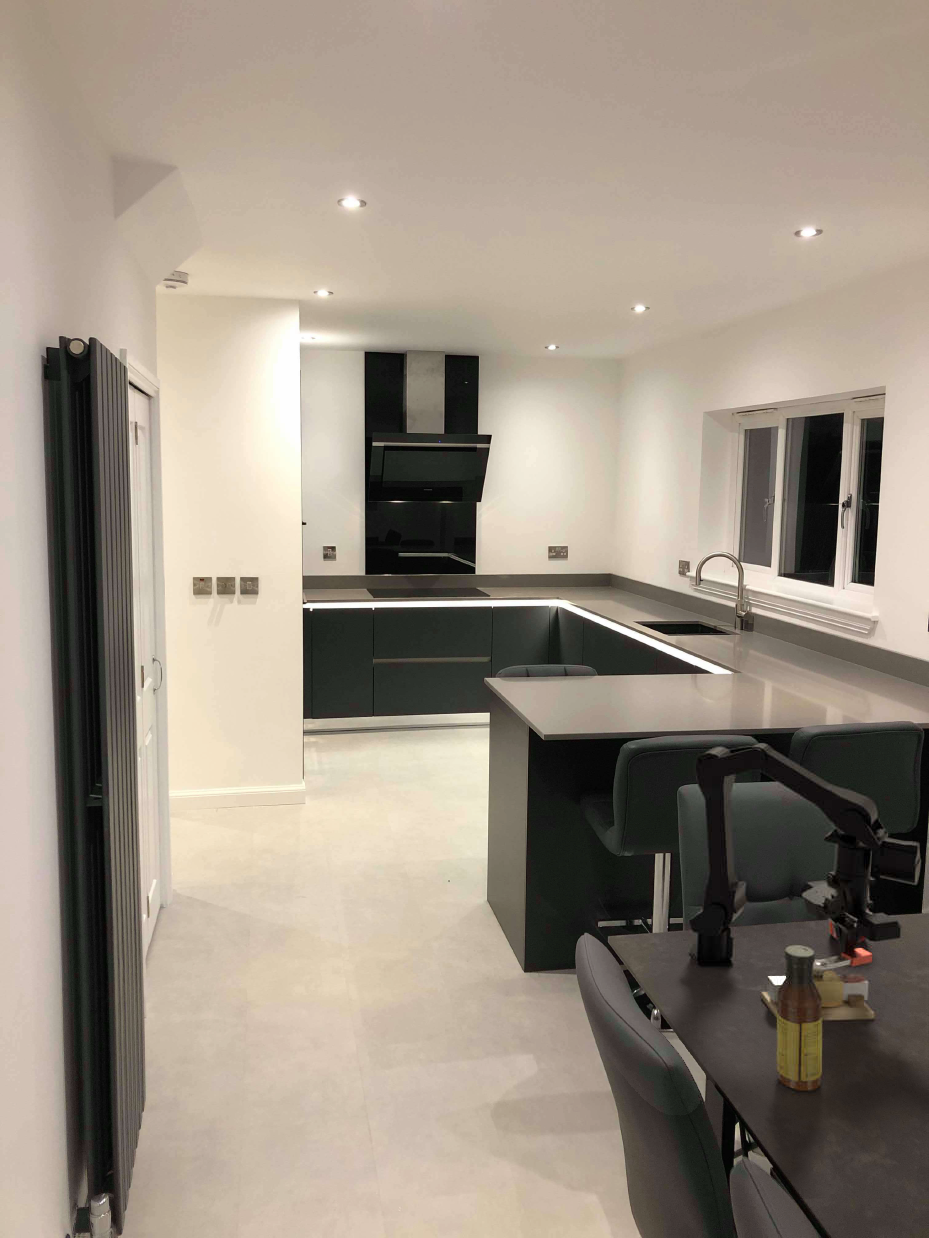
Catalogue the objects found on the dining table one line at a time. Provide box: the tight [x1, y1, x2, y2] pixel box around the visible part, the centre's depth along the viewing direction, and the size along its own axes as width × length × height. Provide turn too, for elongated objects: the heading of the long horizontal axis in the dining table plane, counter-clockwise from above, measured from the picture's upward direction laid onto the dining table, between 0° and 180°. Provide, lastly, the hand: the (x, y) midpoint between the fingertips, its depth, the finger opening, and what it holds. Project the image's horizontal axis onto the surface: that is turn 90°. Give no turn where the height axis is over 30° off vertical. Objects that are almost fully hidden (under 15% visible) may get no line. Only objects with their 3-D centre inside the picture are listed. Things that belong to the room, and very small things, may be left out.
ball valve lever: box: [813, 947, 873, 972], centre depth 166 cm, size 12×3×1 cm, turn 114°
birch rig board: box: [760, 991, 875, 1021], centre depth 164 cm, size 16×8×3 cm, turn 94°
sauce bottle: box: [776, 944, 823, 1092], centre depth 142 cm, size 7×6×20 cm
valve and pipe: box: [766, 969, 869, 1007], centre depth 164 cm, size 16×4×5 cm, turn 94°
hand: (845, 956), depth 170 cm, fingers closed
